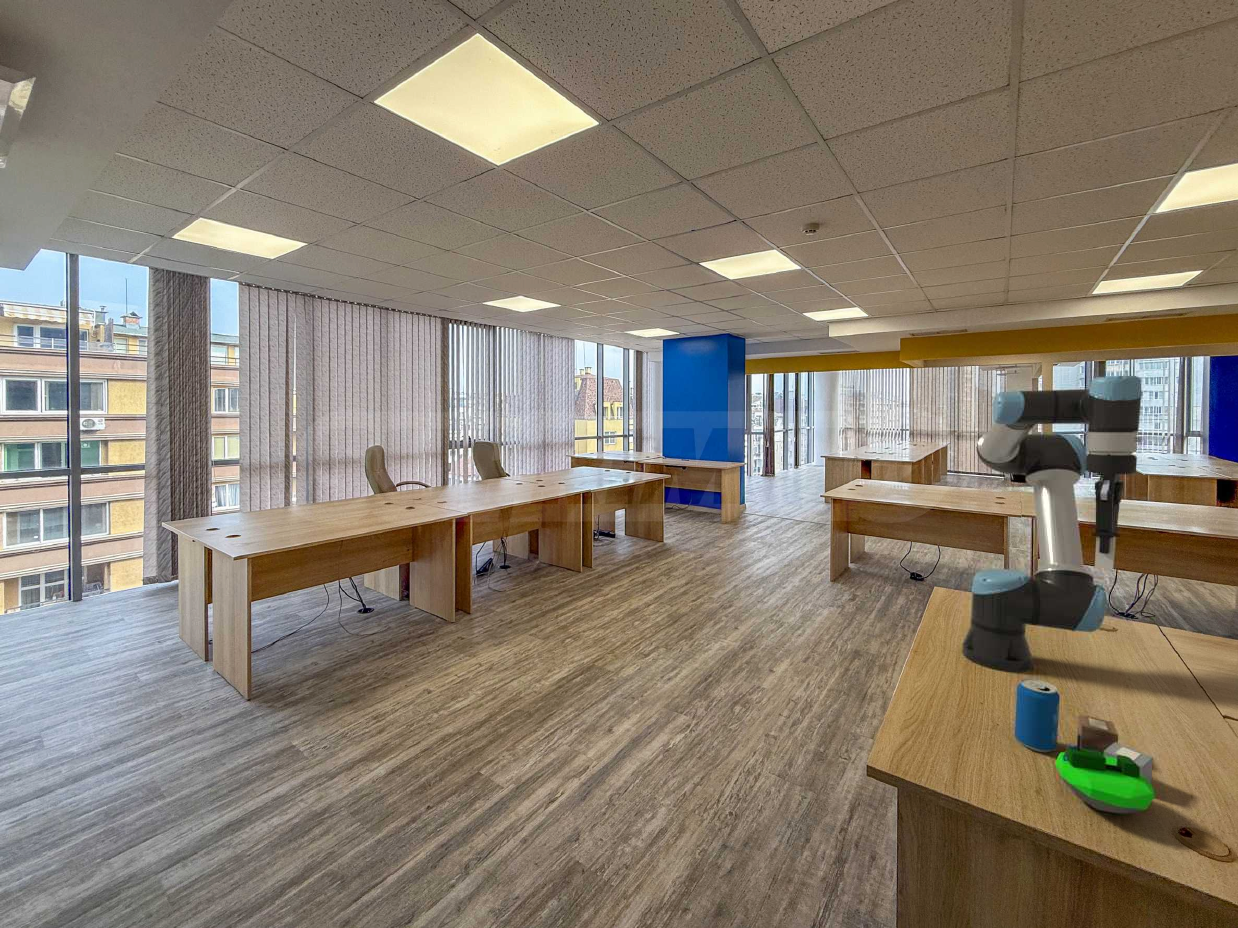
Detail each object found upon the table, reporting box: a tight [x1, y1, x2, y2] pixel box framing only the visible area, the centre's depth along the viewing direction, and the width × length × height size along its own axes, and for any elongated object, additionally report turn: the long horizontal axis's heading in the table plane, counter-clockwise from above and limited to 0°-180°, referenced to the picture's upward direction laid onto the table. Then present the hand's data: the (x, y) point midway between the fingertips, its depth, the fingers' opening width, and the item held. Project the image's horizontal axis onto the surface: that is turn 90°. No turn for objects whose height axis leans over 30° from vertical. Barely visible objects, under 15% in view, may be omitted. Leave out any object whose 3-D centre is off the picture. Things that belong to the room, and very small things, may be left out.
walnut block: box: [1077, 714, 1119, 755], centre depth 101 cm, size 5×5×5 cm
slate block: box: [1103, 742, 1154, 785], centre depth 92 cm, size 5×5×5 cm
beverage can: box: [1014, 677, 1061, 753], centre depth 103 cm, size 6×6×12 cm
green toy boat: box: [1055, 734, 1155, 815], centre depth 87 cm, size 12×12×11 cm
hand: (1104, 567), depth 109 cm, fingers closed
